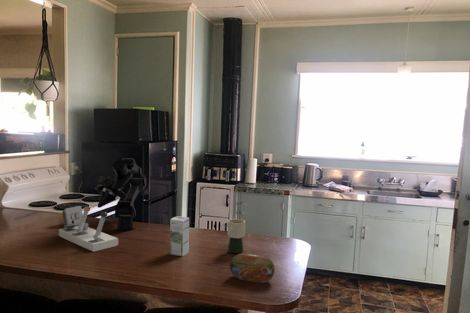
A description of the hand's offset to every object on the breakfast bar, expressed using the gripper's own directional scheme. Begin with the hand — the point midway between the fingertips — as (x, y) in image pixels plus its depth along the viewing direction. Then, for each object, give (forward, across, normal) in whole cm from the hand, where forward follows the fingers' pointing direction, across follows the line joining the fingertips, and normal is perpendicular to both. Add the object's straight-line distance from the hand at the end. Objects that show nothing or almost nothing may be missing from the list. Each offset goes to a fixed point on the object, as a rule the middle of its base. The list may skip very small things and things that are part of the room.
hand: (98, 207), depth 158 cm
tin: (+2, +79, +17) cm, 81 cm away
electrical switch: (+9, -27, +11) cm, 30 cm away
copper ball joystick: (+13, 0, 0) cm, 13 cm away
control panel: (+14, +2, +5) cm, 15 cm away
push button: (+10, -5, +4) cm, 12 cm away
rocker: (+12, -10, 0) cm, 16 cm away
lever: (+12, +14, 0) cm, 19 cm away
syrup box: (+2, +43, +17) cm, 46 cm away
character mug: (-10, +58, +29) cm, 66 cm away
